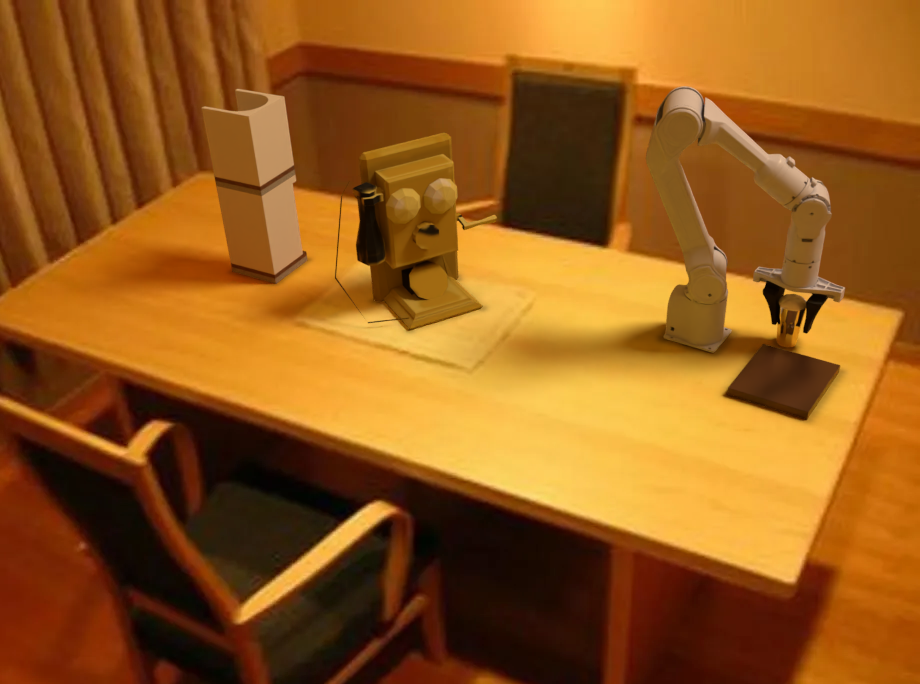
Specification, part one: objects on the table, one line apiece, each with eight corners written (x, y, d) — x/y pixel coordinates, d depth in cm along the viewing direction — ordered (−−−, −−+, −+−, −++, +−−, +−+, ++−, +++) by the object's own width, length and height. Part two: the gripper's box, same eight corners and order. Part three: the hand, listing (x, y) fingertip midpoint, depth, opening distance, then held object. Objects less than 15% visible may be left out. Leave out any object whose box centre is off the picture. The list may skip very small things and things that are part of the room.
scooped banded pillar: (307, 260, 223) (284, 96, 203) (276, 283, 216) (248, 116, 195) (264, 249, 228) (237, 88, 208) (232, 271, 221) (201, 107, 201)
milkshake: (806, 351, 183) (815, 300, 177) (773, 349, 184) (781, 299, 178) (803, 336, 187) (812, 286, 181) (771, 334, 188) (779, 285, 182)
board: (727, 395, 174) (727, 387, 174) (762, 350, 184) (763, 343, 183) (807, 419, 168) (808, 412, 167) (839, 372, 177) (840, 364, 176)
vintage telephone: (362, 345, 195) (345, 193, 177) (334, 310, 205) (315, 164, 188) (515, 299, 204) (512, 150, 187) (480, 268, 215) (475, 124, 197)
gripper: (855, 255, 174) (842, 326, 182) (768, 235, 182) (758, 304, 190) (841, 274, 170) (828, 346, 178) (752, 253, 177) (743, 323, 185)
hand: (791, 326), depth 183 cm, fingers closed on milkshake, 5 cm apart
